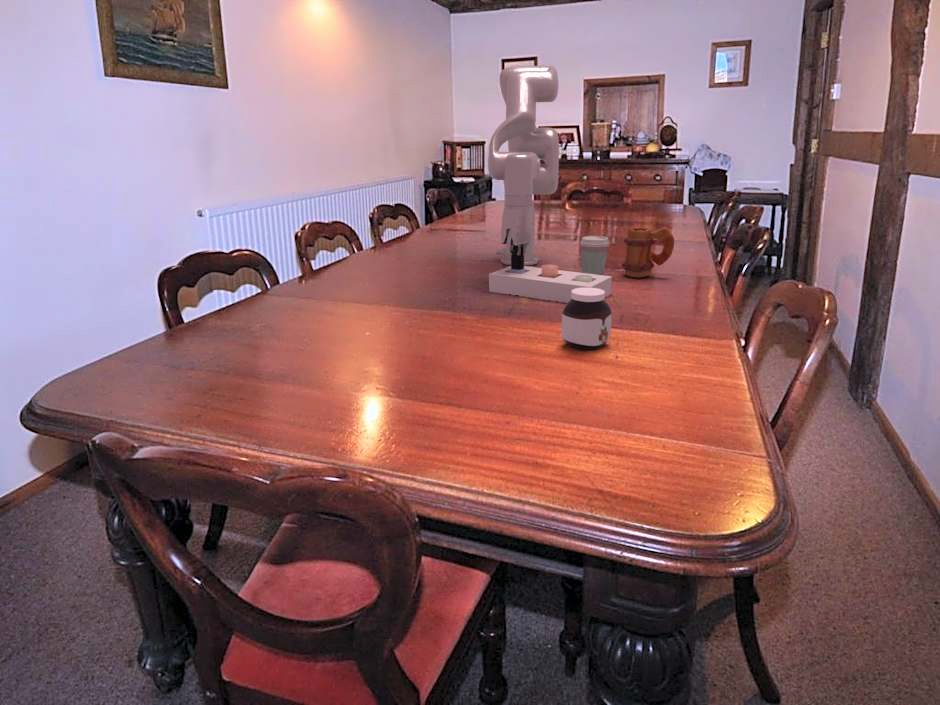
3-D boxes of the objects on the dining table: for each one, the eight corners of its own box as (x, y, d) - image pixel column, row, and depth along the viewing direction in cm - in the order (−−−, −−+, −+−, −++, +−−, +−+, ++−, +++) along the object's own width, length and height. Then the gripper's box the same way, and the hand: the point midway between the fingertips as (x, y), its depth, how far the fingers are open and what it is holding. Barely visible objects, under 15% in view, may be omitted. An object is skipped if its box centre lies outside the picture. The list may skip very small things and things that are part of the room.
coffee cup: (607, 281, 192) (609, 240, 188) (577, 280, 193) (579, 240, 189) (607, 275, 200) (609, 235, 196) (579, 274, 201) (580, 235, 197)
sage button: (571, 296, 174) (572, 277, 172) (578, 292, 177) (579, 274, 176) (587, 298, 172) (588, 279, 170) (594, 294, 175) (595, 276, 173)
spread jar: (581, 355, 133) (584, 299, 129) (543, 341, 141) (545, 288, 137) (621, 343, 139) (625, 289, 135) (583, 330, 148) (585, 279, 144)
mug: (617, 277, 197) (620, 227, 192) (624, 272, 203) (628, 223, 198) (667, 282, 190) (672, 230, 185) (673, 276, 197) (678, 226, 192)
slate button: (506, 286, 184) (506, 269, 183) (514, 283, 188) (514, 266, 186) (520, 288, 182) (520, 271, 180) (527, 285, 185) (528, 268, 184)
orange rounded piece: (538, 284, 179) (538, 266, 177) (545, 281, 182) (546, 263, 180) (553, 286, 176) (553, 268, 175) (560, 283, 180) (560, 265, 178)
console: (489, 291, 182) (489, 273, 181) (514, 281, 193) (514, 264, 192) (589, 306, 167) (590, 287, 165) (610, 294, 178) (611, 276, 176)
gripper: (519, 198, 185) (518, 263, 191) (492, 203, 173) (491, 272, 179) (543, 199, 181) (541, 265, 187) (516, 205, 169) (516, 275, 175)
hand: (517, 268), depth 183 cm, fingers closed
